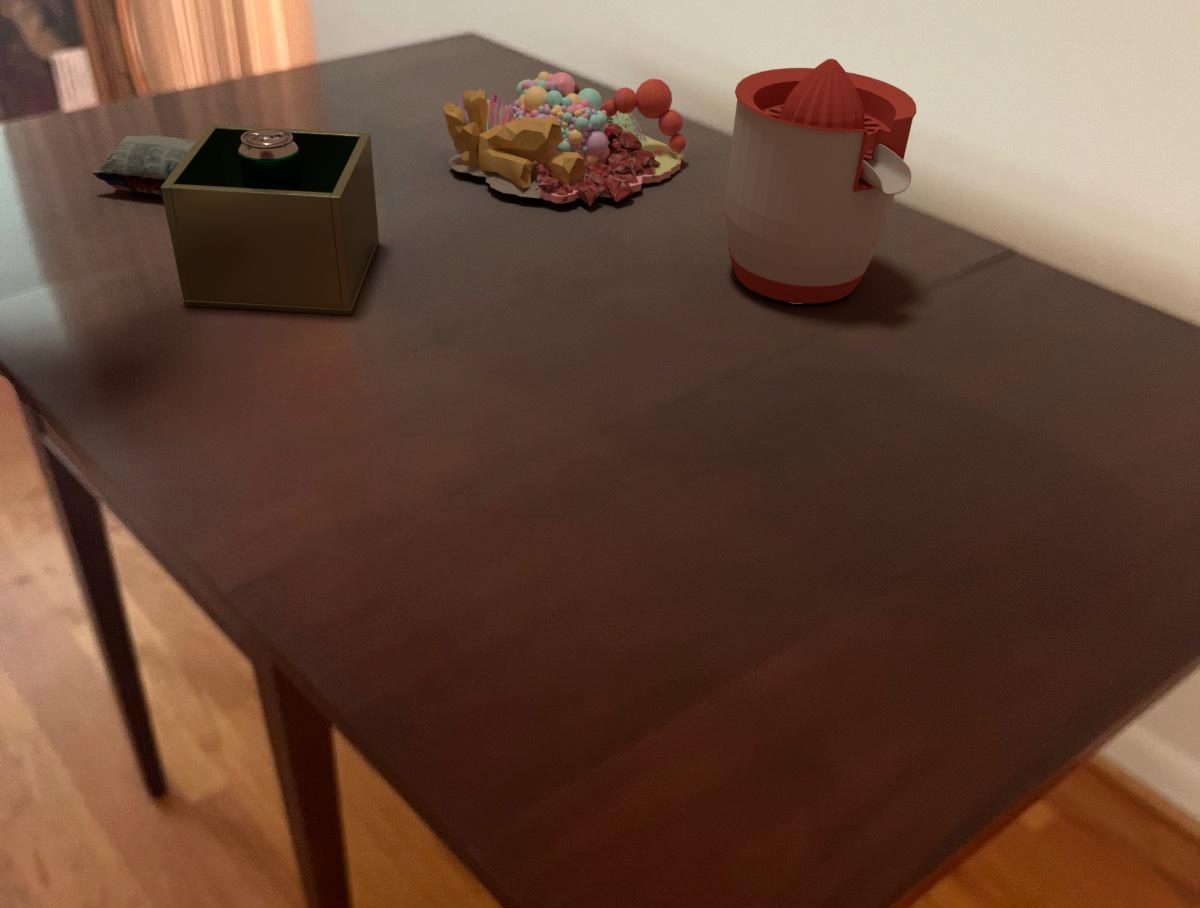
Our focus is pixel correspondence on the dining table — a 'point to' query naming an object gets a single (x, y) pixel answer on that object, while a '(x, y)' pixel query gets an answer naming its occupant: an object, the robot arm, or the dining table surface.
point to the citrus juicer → (813, 178)
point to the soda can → (270, 160)
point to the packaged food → (143, 162)
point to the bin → (274, 225)
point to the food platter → (565, 139)
